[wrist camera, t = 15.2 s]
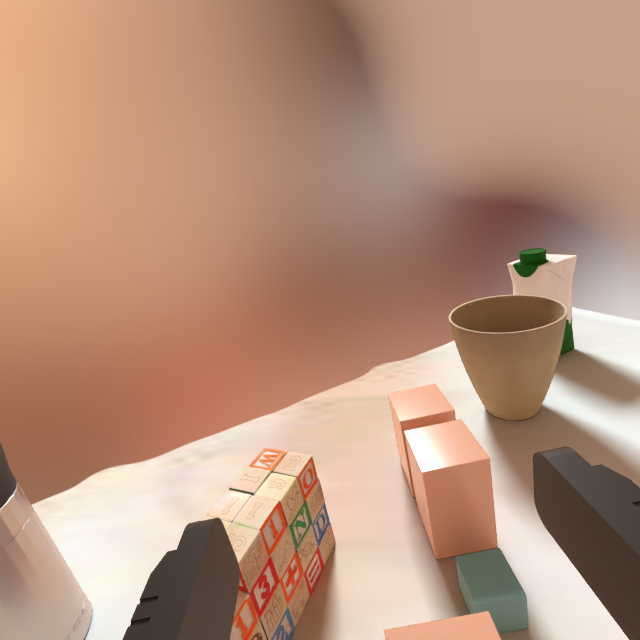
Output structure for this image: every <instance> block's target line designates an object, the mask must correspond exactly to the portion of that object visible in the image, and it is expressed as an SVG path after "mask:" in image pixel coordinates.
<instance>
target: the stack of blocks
mask: <svg viewBox="0 0 640 640" xmlns="http://www.w3.org/2000/svg"><path fill="white" fill-rule="evenodd" d="M213 518H220V519H221V520H222V522H223V525H224V527H225V530H226V532H227V535H228V537H229V540H230V542H231V545H232V547H233V550H234V552H235V555H236V557H237V560H238V565H239V574H240V582H239V591H238V597H237V602H236V608H235V613H234V619H233V625H232V630H231V636H230V640H290V639H291V636H292V634H293V632H294V629H295V627H296V625H297V623H298V621H299V619H300V617H301V614H302V612H303V610H304V608H305V606H306V604H307V601H308V599H309V597H310V596H311V594H312V592H313V590H314V588H315V586H316V584H317V581H318V579H319V577H320V575H321V573H322V571H323V568H324V566H325V565H326V562H327V560H328V558H329V556H330V554H331V552H332V550H333V547H334V545H335V538H334V534H333V531H332V527H331V523H330V521H329V517H328V513H327V510H326V505H325V502H324V496H323V492H322V488H321V484H320V481H319V478H318V477H317V473H316V469H315V465H314V461H313V458H312V456H311V455H306V454H300V453H294V452H286V451H281V450H275V449H267V448H264V449H263V450H262V451H261V453H260V454H259V455H258V456H257V457H256V458H255V460H254V461H253V462H252V463H251V464H250V465H249V467H246V468H245V469H244V471H243V472H242V473H241V474H240V475H239V476H238V478H237V479H236V480H235V481H234V482H233V484H232V485H231V486H230V488H229V490H227V491H226V492H225V493H224V494H223V496H222V497H221V498H220V499H219V500H218V501H217V503H216V504H215V505H214V507H213V508H212V509H211V510H210V511H209V513H208V515H207V516H206V517H205V518H204V519H203V520H208V519H213ZM203 520H202V521H203Z"/></svg>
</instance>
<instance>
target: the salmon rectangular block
mask: <svg viewBox="0 0 640 640" xmlns="http://www.w3.org/2000/svg"><path fill="white" fill-rule="evenodd" d="M404 433H405V439H406V444H407V450H408V456H409V462H410V467H411V473H412V479H413V484H414V490H415V496H416V502H417V507H418V511H419V514H420V517H421V519H422V522H423V525H424V527H425V530H426V533H427V536H428V538H429V541H430V544H431V546H432V549H433V552H434V555H435V557H436V560H437V559H442V558H447V557H452V556H457V555H462V554H468V553H473V552H478V551H483V550H488V549H493V548H498V545H497V534H496V523H495V512H494V500H493V489H492V478H491V467H490V458H489V456H488V455H487V454H486V452H485V451H484V450H483V448H482V447H481V446H480V444H479V443H478V441H477V440H476V439H475V437H474V436H473V435H472V433H471V432H470V431H469V429H468V428H467V426H466V425H465V424H464V422H463V421H462V420H461V419H459V420H454V421H450V422H445V423H440V424H435V425H431V426H426V427H421V428H417V429H412V430H407V431H404Z"/></svg>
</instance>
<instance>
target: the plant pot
mask: <svg viewBox="0 0 640 640" xmlns="http://www.w3.org/2000/svg"><path fill="white" fill-rule="evenodd" d="M567 313H568V309H567V307H566V306H565V305H564V304H563V303H561V302H560V301H557V300H554V299H551V298H548V297H543V296H535V295H502V296H493V297H487V298H483V299H478V300H474V301H471V302H468V303H465V304H463V305H460V306H458V307H457V308H455V309H454V310H453V311H452V312H451V313H450V314H449V322H450V326H451V329H452V332H453V336H454V339H455V343H456V346H457V349H458V352H459V354H460V357H461V359H462V362H463V364H464V367H465V369H466V372H467V374H468V376H469V378H470V380H471V382H472V384H473V386H474V388H475V390H476V392H477V394H478V396H479V398H480V399H481V401H482V403H483V405H484V406H485V408H486V409H487V411H488V412H489V413H491V414H492V415H494V416H496V417H498V418H501V419H505V420H525V419H528V418H531V417H533V416H534V415H536V414H537V413H538V411H539V409H540V407H541V405H542V403H543V401H544V398H545V396H546V394H547V392H548V389H549V387H550V384H551V381H552V379H553V376H554V372H555V369H556V366H557V363H558V359H559V355H560V351H561V347H562V342H563V337H564V331H565V326H566V319H567Z"/></svg>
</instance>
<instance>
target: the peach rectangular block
mask: <svg viewBox="0 0 640 640" xmlns="http://www.w3.org/2000/svg"><path fill="white" fill-rule="evenodd" d="M388 397H389V403H390V408H391V413H392V419H393V424H394V430H395V435H396V441H397V446H398V451H399V457H400V462H401V465H402V468H403V470H404V473H405V476H406V479H407V481H408V484H409V487H410V489H411V492H412V495H413V497H416V496H415V490H414V484H413V479H412V473H411V467H410V462H409V456H408V450H407V444H406V439H405V433H404V431H407V430H412V429H417V428H421V427H426V426H431V425H435V424H440V423H445V422H450V421H454V420H456V419H455V411H454V409H453V407H452V406H451V405H450V403H449V402H448V401H447V399H446V398H445V396H444V395H443V394H442V392H441V391H440V390H439V388H438V387H437V386H436V384H432V385H427V386H422V387H418V388H413V389H408V390H404V391H399V392H394V393H390V394H388Z"/></svg>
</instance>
